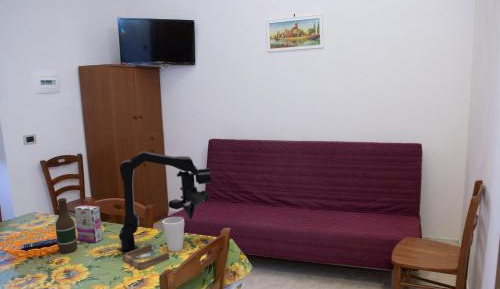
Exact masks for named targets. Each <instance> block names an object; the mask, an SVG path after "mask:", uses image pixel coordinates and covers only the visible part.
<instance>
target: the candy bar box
mask: <svg viewBox="0 0 500 289" xmlns="http://www.w3.org/2000/svg"><path fill="white" fill-rule="evenodd" d="M100 210H101V209H100V206H95V205H84V204H81V205H79V206H76V207H74V215H75V226H76V231H77V232H76V235H77V242H78V241H79V242H86V243H93V244H96V243H99V242H101V241H102V240H103V239H104V238H103V230H102V229H103V228H102V219H101V211H100Z"/></svg>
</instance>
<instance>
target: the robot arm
mask: <svg viewBox="0 0 500 289" xmlns="http://www.w3.org/2000/svg"><path fill="white" fill-rule="evenodd" d="M145 162H148V163H154V164H158V165H165V166H169V167H173V168H175V169H176V170H177V169H178V170H179V171H178V172H177V173H176V177H180V181H181V182H180V183H181V187H179V188H180V189H179V190H181V192H182V195H181V196H180V199H175V198H174V199H173V200H169V202H168V208H171V209H173V210H179V209H183V210H184V212H185V213H186V215H187V217H188V219H189V220H191V219H193V216H194V213H195V209H196V207H197V206H198V205H199V204H203V203H204V201H208V200H210V196H209V193H208V192H207V191H206V190H202V191H198V187H197V186H196V184H195V183H197V184H198V185H203V184H204V185H206V184H212V176H211V169H210V168H209V167H206V168H200V169H199V168H197V166H195V164H194V162H193V159H192V158H191V157H190V156H180V155H179V156H172V155H165V154H160V153H156V152H150V151H149V152H148V151H145V150H142V151H141V152H140V153H138V154H137V155H135V156H134V157H132V158H131V159H124V160H123V161H122V163H121V164H120V166H119V172H120V177H121V180H122V182H123V192H124V194H123V195H124V213H125V214H124V220H123V226H122V227H121V229H120V231H119V234H118V238H119V240H120V244H121V246H120V247H119V248H117V249H118V251H120V252H122V253H123V254H125V253H128V252H130V251H133V250H136V249H139V247H138V246H136V244H135V243H136V242H135V233H137V231H138V228H139V227H140V220H139V219H140V213H136V210H135V196H134V195H135V194H134V193H135V192H134V177H135V176H134V175H135V169H136V168H138V167H139V166H140V165H141V164H143V163H145Z"/></svg>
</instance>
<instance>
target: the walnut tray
mask: <svg viewBox="0 0 500 289" xmlns="http://www.w3.org/2000/svg"><path fill="white" fill-rule="evenodd" d="M151 251H153V248H152V244H150V243H149V244H147V245H144V246H142V247H138V249H136V250H133V251H130V252H128V253H123V254H121V256H122V258H121V259H122V261H123V262H125V263H127V264H129V265H131V267H134V268H135V269H138V270H140V271H143V270H145V269H148V268H150V267H152V266H155V265H157V264H159V263H162V262H164V261H167V260H170V253H169V252H164V253H162V254H159V255H156V256H154V257H151V258H149V259H147V260H144V261H140V260H138V259H136V257H138V256H141V255H144V254H147V253H149V252H151Z"/></svg>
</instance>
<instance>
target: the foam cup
mask: <svg viewBox="0 0 500 289" xmlns="http://www.w3.org/2000/svg"><path fill="white" fill-rule="evenodd" d="M161 222H162V223H161V224H162V229H163V232H164V237H165V241H166V246H167V250H168V251H170V252H179V251H182V250H183V247H184V236H185V234H184V232H185V230H184V229H185V218H184V217H183V216H170V217H167V218H164V219H163V220H162V221H161Z"/></svg>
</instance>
